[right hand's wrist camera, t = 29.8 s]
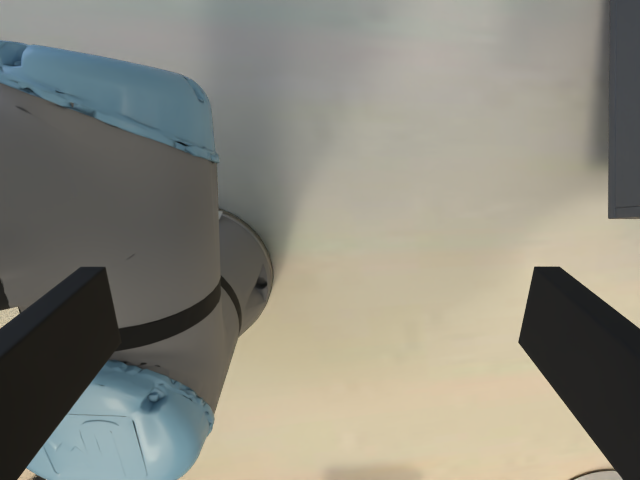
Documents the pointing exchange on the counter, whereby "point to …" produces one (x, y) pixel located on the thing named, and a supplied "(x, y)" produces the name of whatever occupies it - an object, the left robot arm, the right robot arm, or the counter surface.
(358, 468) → the counter surface
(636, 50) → the bin
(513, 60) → the counter surface
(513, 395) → the counter surface
